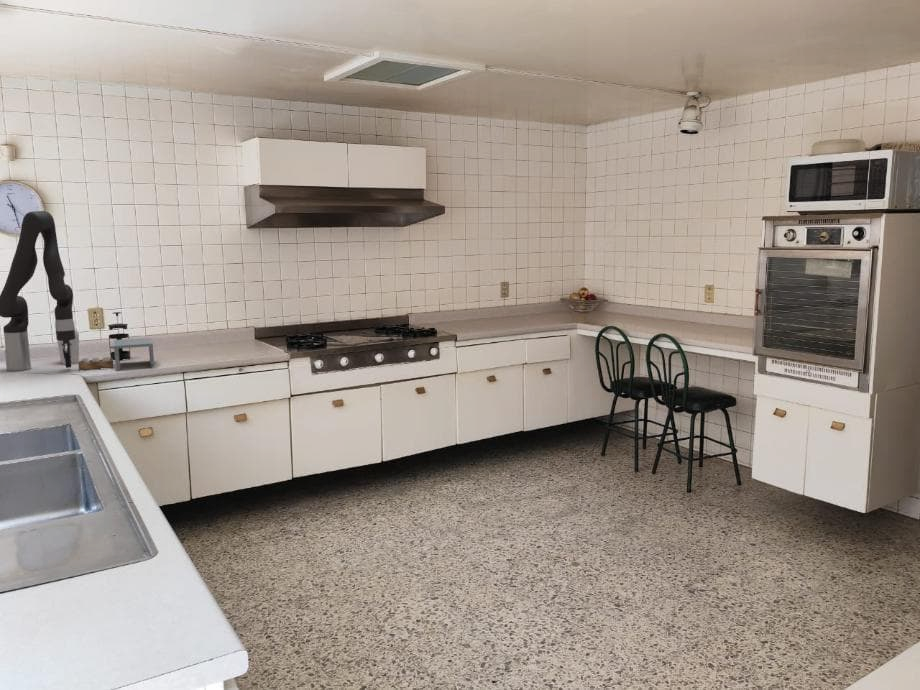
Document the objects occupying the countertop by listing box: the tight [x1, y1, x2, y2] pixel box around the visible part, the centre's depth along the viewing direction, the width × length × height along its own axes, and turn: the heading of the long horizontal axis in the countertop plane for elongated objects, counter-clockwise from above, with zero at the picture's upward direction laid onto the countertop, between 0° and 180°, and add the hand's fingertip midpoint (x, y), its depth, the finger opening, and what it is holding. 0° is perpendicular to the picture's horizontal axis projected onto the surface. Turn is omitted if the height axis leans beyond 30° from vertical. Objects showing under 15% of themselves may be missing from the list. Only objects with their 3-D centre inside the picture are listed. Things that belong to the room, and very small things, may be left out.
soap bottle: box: [50, 309, 80, 365], centre depth 349 cm, size 12×10×26 cm
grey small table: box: [113, 337, 155, 371], centre depth 341 cm, size 16×20×11 cm
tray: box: [77, 356, 114, 371], centre depth 335 cm, size 14×6×5 cm, turn 115°
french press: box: [107, 311, 132, 361], centre depth 358 cm, size 12×9×23 cm
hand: (68, 367), depth 331 cm, fingers closed
